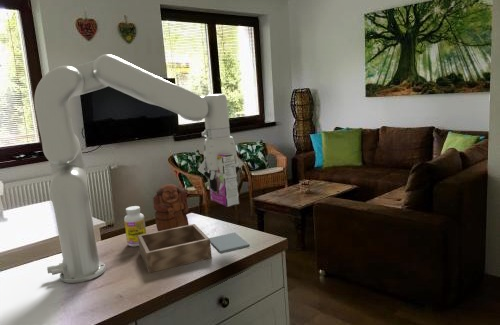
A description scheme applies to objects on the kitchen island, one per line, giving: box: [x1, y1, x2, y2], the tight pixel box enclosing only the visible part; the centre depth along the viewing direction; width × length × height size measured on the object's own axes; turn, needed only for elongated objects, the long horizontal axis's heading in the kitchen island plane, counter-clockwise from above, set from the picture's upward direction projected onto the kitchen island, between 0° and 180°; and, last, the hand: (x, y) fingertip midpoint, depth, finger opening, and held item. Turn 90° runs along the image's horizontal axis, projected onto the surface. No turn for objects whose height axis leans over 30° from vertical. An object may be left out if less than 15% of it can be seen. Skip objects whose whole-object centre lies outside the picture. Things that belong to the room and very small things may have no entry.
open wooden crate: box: [138, 223, 212, 274], centre depth 131 cm, size 19×17×6 cm
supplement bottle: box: [124, 205, 147, 247], centre depth 143 cm, size 7×7×13 cm
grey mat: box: [208, 232, 250, 254], centre depth 138 cm, size 10×13×1 cm
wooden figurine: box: [152, 183, 190, 231], centre depth 151 cm, size 12×6×18 cm, turn 125°
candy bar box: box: [207, 153, 240, 208], centre depth 134 cm, size 11×5×16 cm, turn 34°
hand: (223, 188), depth 135 cm, fingers closed on candy bar box, 5 cm apart
